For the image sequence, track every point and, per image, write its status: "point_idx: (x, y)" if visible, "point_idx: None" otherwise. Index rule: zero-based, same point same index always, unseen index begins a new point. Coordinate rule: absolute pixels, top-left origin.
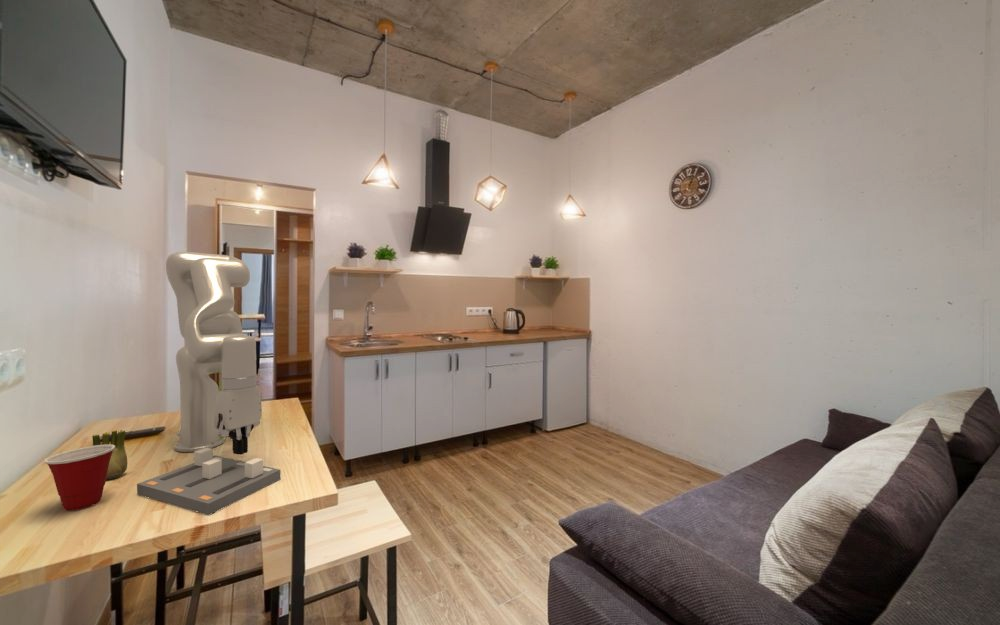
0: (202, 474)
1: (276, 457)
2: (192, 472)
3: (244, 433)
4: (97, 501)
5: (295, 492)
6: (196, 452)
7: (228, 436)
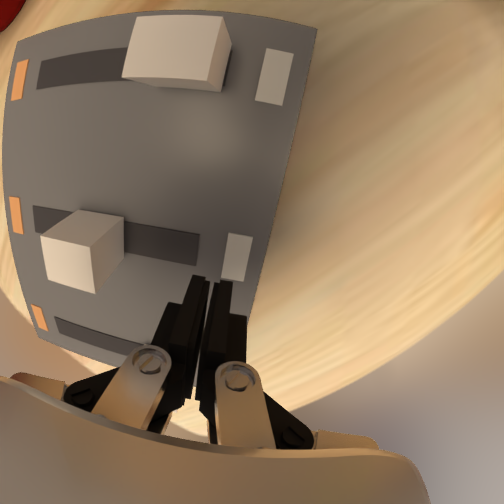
0: (71, 215)
1: (401, 262)
2: (101, 112)
3: (211, 421)
4: (6, 24)
5: (185, 409)
6: (132, 36)
7: (101, 374)
